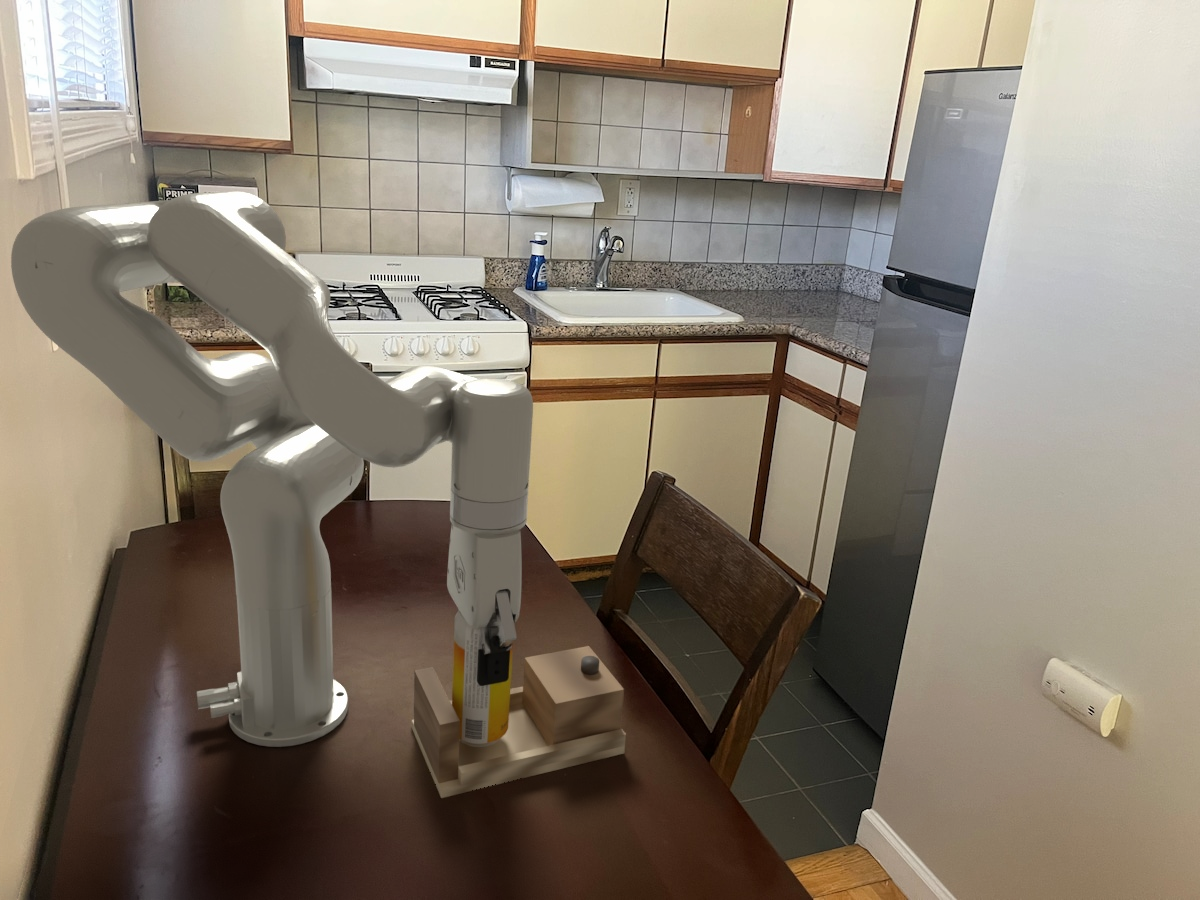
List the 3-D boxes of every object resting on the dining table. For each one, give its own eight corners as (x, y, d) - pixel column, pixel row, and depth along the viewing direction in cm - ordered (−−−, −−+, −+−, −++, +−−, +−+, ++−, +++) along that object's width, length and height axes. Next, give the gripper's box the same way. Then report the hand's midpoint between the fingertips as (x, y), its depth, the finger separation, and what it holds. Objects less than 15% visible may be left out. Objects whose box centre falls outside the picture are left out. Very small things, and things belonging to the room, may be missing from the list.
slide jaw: (552, 751, 95) (556, 693, 93) (522, 702, 103) (525, 648, 101) (619, 735, 98) (625, 679, 96) (585, 689, 106) (589, 636, 104)
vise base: (441, 798, 89) (442, 730, 86) (411, 727, 99) (412, 665, 97) (624, 753, 98) (630, 690, 95) (579, 692, 108) (584, 634, 105)
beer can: (509, 716, 99) (516, 596, 94) (505, 751, 93) (513, 625, 88) (454, 713, 99) (458, 592, 94) (447, 749, 93) (451, 622, 88)
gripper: (428, 477, 93) (425, 629, 99) (479, 547, 78) (472, 720, 84) (496, 472, 96) (490, 619, 102) (558, 537, 82) (546, 704, 88)
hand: (482, 663), depth 93 cm, fingers closed on beer can, 5 cm apart
